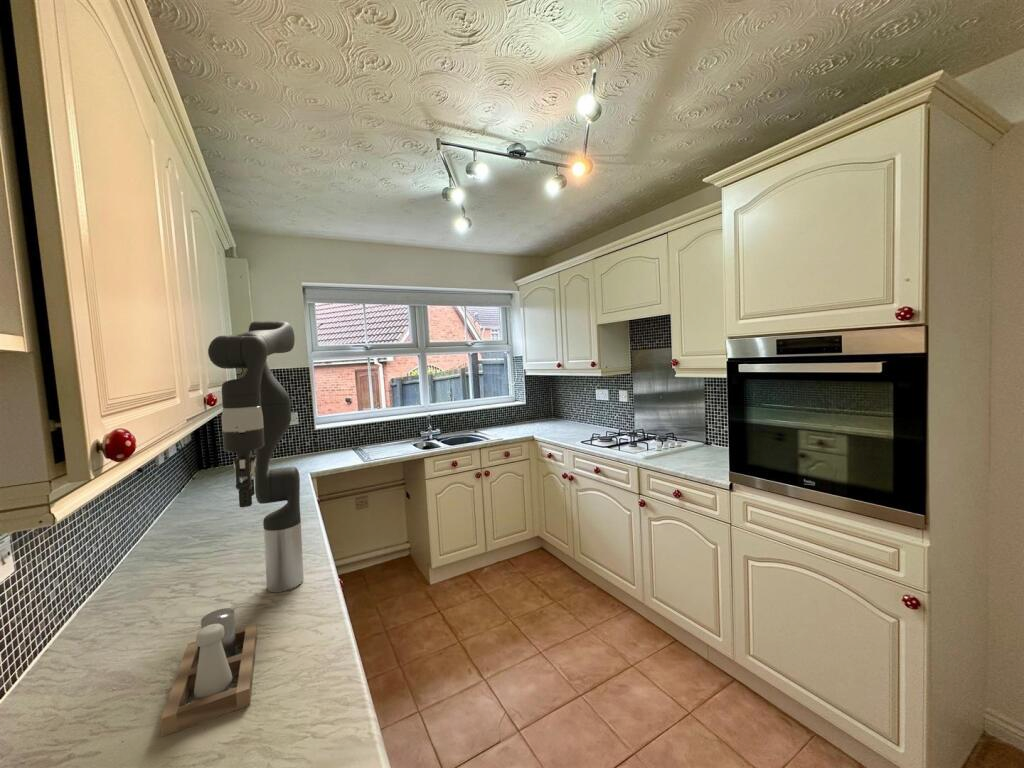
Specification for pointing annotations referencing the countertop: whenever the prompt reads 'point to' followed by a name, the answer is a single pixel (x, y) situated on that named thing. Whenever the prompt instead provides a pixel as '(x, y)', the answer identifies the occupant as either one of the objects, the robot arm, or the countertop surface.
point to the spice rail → (215, 705)
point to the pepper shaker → (228, 622)
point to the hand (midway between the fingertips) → (247, 501)
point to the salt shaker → (211, 663)
